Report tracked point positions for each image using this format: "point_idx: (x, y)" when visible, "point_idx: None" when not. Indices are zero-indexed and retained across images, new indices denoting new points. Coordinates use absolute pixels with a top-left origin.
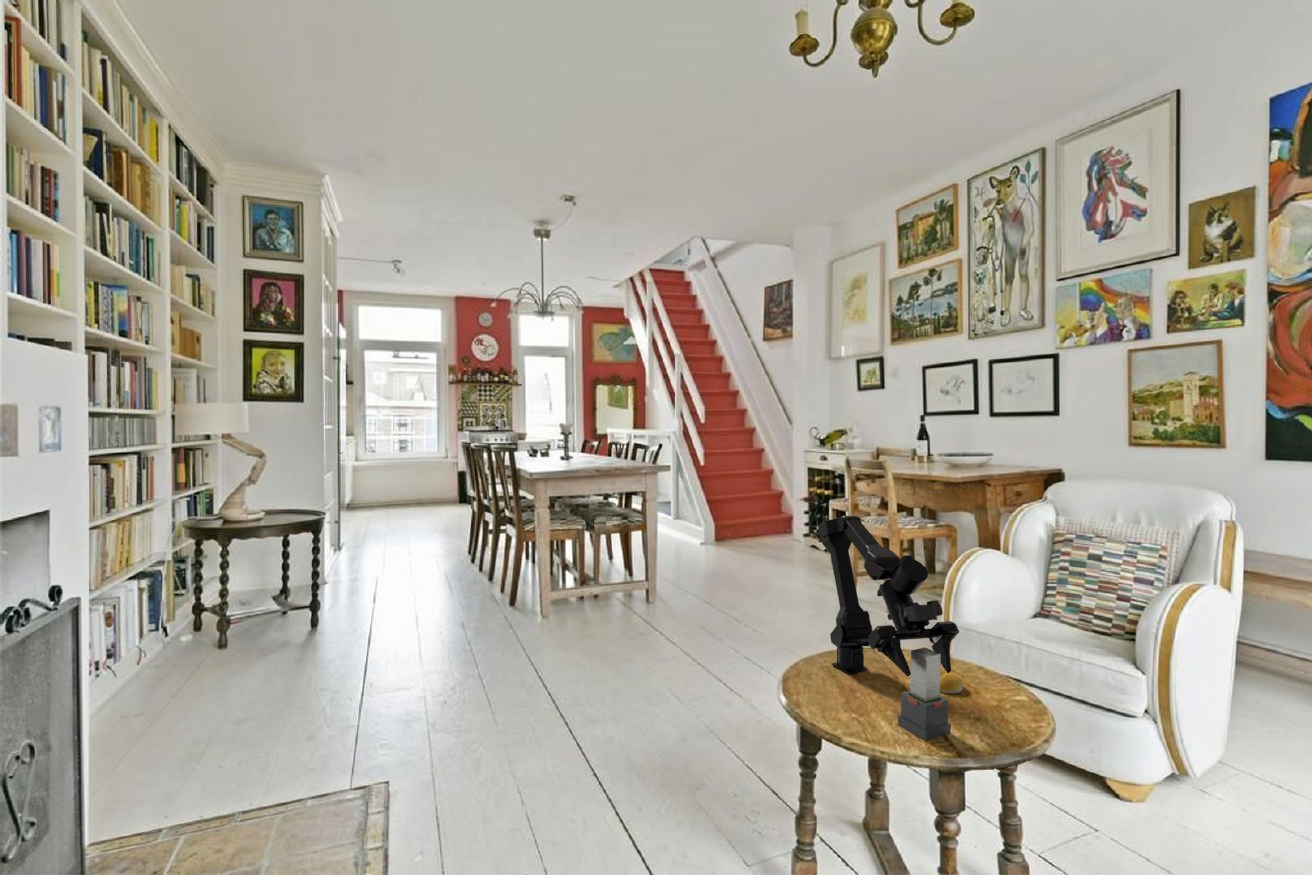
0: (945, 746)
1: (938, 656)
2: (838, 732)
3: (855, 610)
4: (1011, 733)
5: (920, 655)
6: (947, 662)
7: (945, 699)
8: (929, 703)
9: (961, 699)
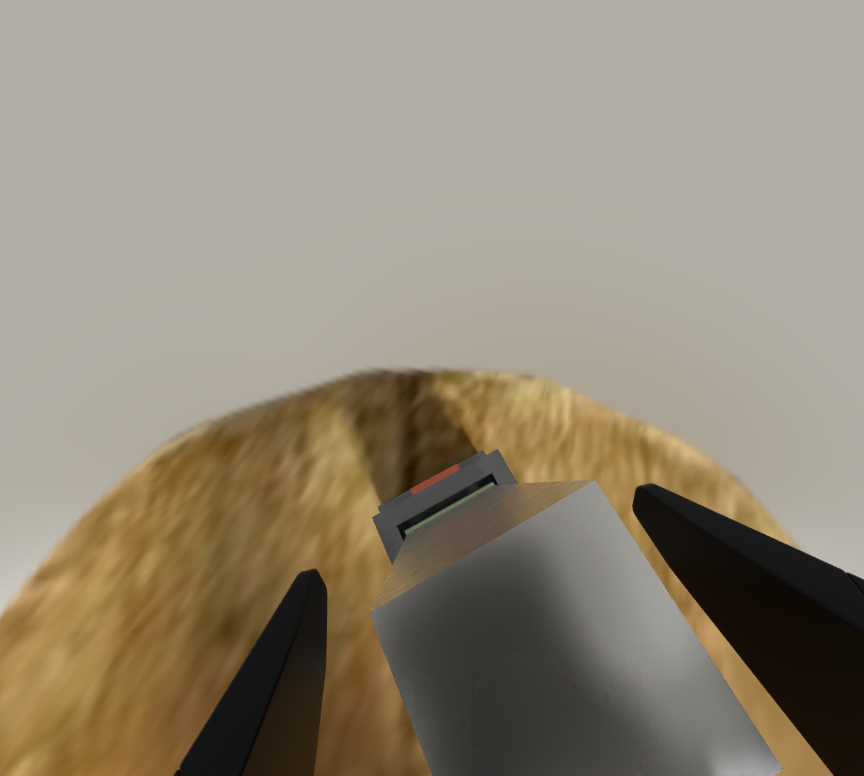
0: (431, 426)
1: (407, 582)
2: (730, 493)
3: None
4: (184, 515)
5: (647, 568)
6: (288, 638)
7: (384, 520)
8: (475, 471)
9: None
